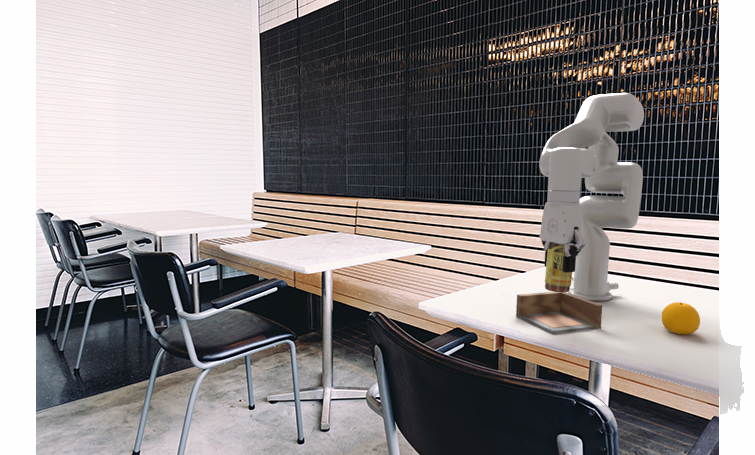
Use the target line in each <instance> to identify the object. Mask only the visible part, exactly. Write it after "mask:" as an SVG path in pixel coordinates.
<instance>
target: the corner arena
mask: <svg viewBox="0 0 755 455" xmlns="http://www.w3.org/2000/svg"><path fill="white" fill-rule="evenodd" d="M515 310H516V311H515V317H517V318H518V319H520V320H522V321H524V322H526V323H529V325H532V326H535V327H537V328H539V329H540V330H543V331H545V332H547V333H548V334H550V335H557V334H558V335H559V334H567V333H574V332H575V333H576V332H582V331H593V330H601V329H602V320H603V319H602V318H603V304H600V303H598V302H596V301H593V300H586V299H584V298H581V297H578V296H575V295H572V294H569V293H568V292H554V291H547V292H534V293H533V292H532V293H524V294H523V293H521V294H516V309H515Z"/></svg>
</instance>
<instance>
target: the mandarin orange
mask: <svg viewBox="0 0 755 455" xmlns="http://www.w3.org/2000/svg"><path fill="white" fill-rule="evenodd" d="M661 322H662V325H663V326H664V328H665V329H667V331H669V332H671V333H673V334H677V335H691V334H693V333H695V332H696V331H697V330H698V329H699V328H700V325H701V317H700V314H699V311H697V309H696V308H695V307H693V306H692V305H691V304H689V303H685V302H678V301H677V302H676V301H675V302H672V303H670V304H668V305H666V306H665V307H664V308H663V310H662V312H661Z"/></svg>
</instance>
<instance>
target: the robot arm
mask: <svg viewBox="0 0 755 455" xmlns="http://www.w3.org/2000/svg"><path fill="white" fill-rule="evenodd" d="M644 118H645V112H644V107H643V104H642V103H641V102H640V100H639V99H638V97H636V96H635V95H633V94H632V93H629V92H620V93H619V92H618V93H617V92H616V93H606V94H596V95H592V96H589V97H588V98H586V99H585V100H584V101H583V103H582V105H581V107H580V108H579V111H578V113H577V115H576V117H575V120H574V122H573V123H572V124H570V125H568V126H566V127H565V128H563V129H562V130H560V131H558V132H557V133H555V134H552V136H551V137H550V138H549V139H548V140H547V142H546V143H545V145H544V147H543V150H542V151H541V153H540V158H539V165H538V167H539V171H540V173H541V175H543V176H544V177H547V178H548V183H547V184H548V185H547V199H546V200H547V202H545V204H544V207H543V212H542V217H541V218H542V219H541V226H540V233H539V235H538V237H539V240H540V241H541V244H542V246H543V251H544V266H543V267H544V268H546V264H547V253H548V247H549V242H553V243H555V244H560V245H564V249H565V253H566V256H564V261H563V272H565V273H566V272H572V273H574V277H573V287H570V290H569V292H567V293H569V294H572V295H575V296H578V297H581V298H584V299H586V300H589V301H592V302H596V301H597V302H600V301H601V302H603V301H609V300H611V299H612V298H613V294H612V292H610V291H611V290H618V289H619V288H620V286H619V284H618V282H617V283H616V282H614V283H613V282H612V283H610V281H608V277H609V276H608V275H609V274H608V273H609V262H610V259H609V258H610V249H611V242H610V239H609V236H608V235H607V233H606V232H605V231H604V228H610V229H611V228H612V229H623V230H624V229H627V230H628V229H632V228H635V226H636V225H637V224H638V221H639V215H640V206H641V198H642V190H643V181H644V176H643V175H644V174H643V173H644V172H643V169H642V167H641V165H640V164H638V163H636V162H628V161H627V162H624V161H623V162H621V161H619V162H618V159H619V149H620V148H619V146H618V144H617V142H615V140H614V139H613V138H612V137H611V136H610V135H609V134H608V133H611V132H613V133H615V132H633V131H637V130H639V129H640V128H641V126H642V125H643V122H644ZM582 179H584V184H585V189H586V190H587V191H588V192H590V193H591V192H592V193H597V194H598V193H600V194H621V195H623V196H613V195H612V196H609V195H587V196H582V197H581V191H582V190H581V188H582V187H581V186H582ZM571 241H572V243H570V242H571ZM569 246H572V249H571V250H570V248H569Z"/></svg>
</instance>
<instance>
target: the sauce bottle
mask: <svg viewBox="0 0 755 455" xmlns="http://www.w3.org/2000/svg"><path fill="white" fill-rule="evenodd" d="M570 243H572V241H571V242H570ZM569 248H570V250H571V249H572V246H569ZM564 256H566V253H565V249H564V245H560V244H555V243H553V242H549V247H548V253H547V264H546V267H545V278H544V289H545V290H547V291H548V292H566V293H568V292H569V290H570V289H571V286H572V280H573V272H566V273H565V272H563V261H564Z"/></svg>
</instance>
